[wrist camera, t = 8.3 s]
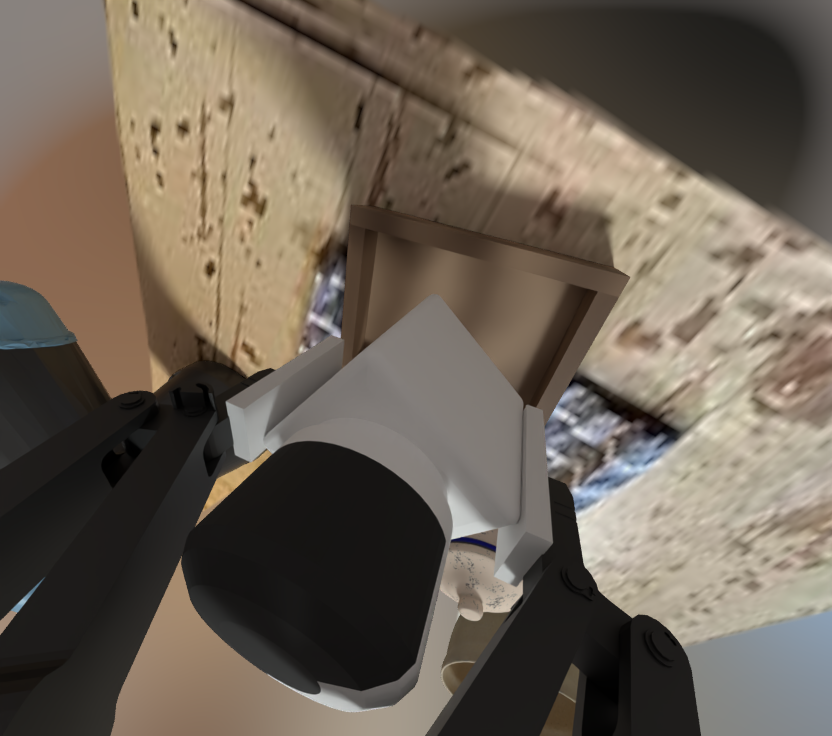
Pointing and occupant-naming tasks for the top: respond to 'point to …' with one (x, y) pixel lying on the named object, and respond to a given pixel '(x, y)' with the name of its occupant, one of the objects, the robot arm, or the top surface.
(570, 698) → the planter bowl
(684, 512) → the top surface
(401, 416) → the medicine bottle
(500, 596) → the teacup with lid
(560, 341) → the holder tray
